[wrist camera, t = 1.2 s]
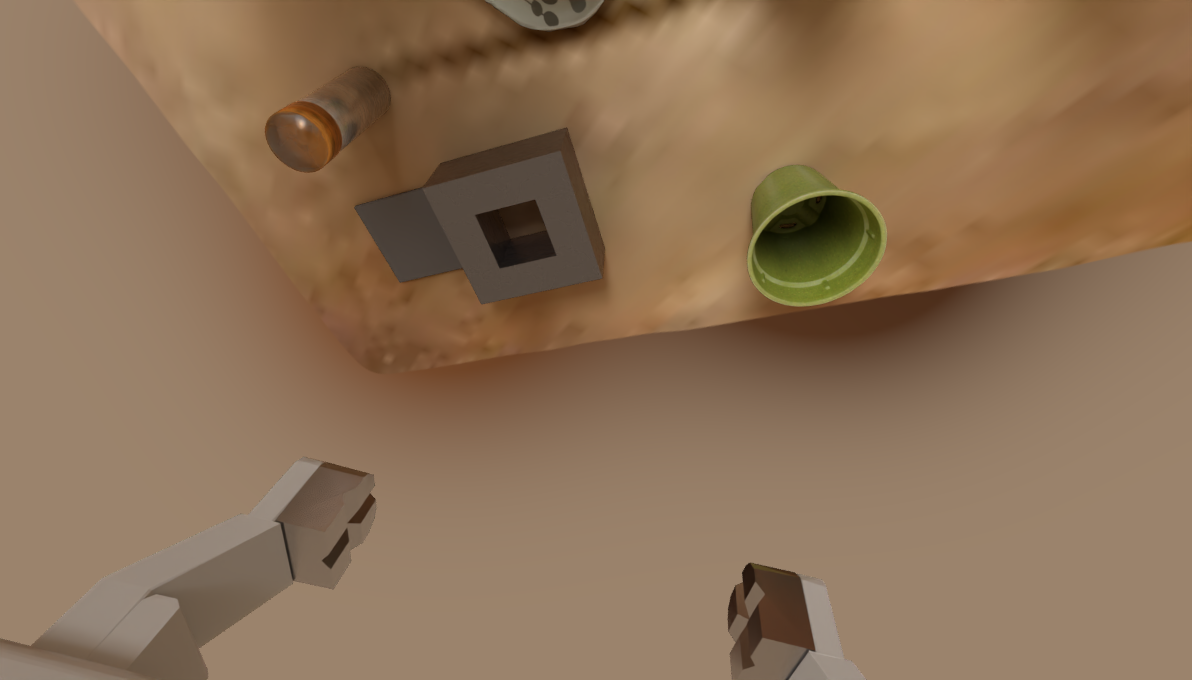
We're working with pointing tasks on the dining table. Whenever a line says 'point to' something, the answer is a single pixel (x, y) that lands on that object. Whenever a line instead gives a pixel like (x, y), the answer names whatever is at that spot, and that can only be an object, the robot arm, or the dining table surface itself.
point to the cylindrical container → (327, 119)
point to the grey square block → (508, 178)
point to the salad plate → (548, 12)
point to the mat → (409, 235)
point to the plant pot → (811, 238)
